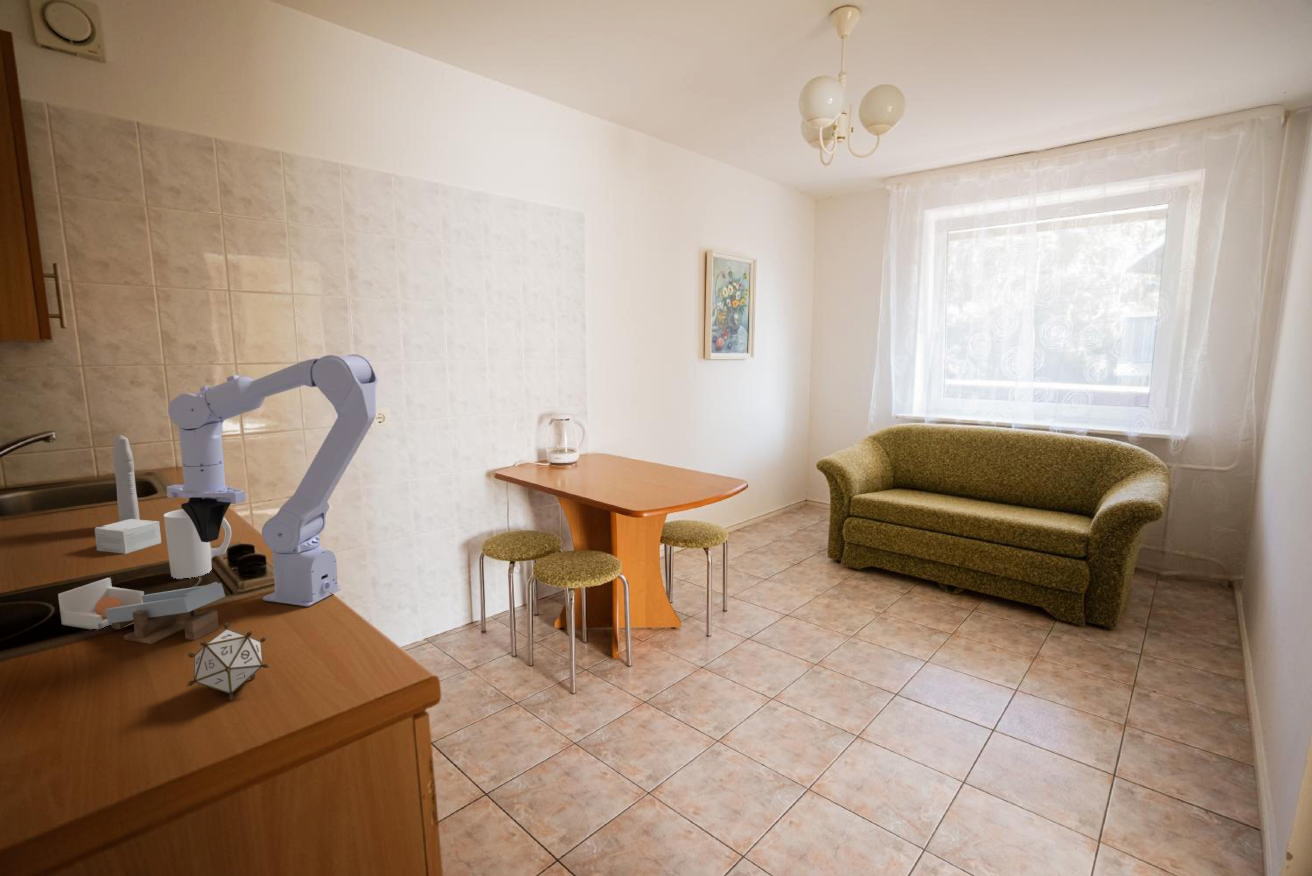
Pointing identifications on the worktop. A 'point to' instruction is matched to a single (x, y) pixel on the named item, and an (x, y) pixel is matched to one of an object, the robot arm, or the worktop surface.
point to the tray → (92, 603)
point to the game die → (227, 661)
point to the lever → (168, 602)
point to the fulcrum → (170, 625)
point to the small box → (127, 536)
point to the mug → (190, 546)
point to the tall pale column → (125, 479)
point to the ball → (106, 605)
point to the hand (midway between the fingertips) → (209, 540)
